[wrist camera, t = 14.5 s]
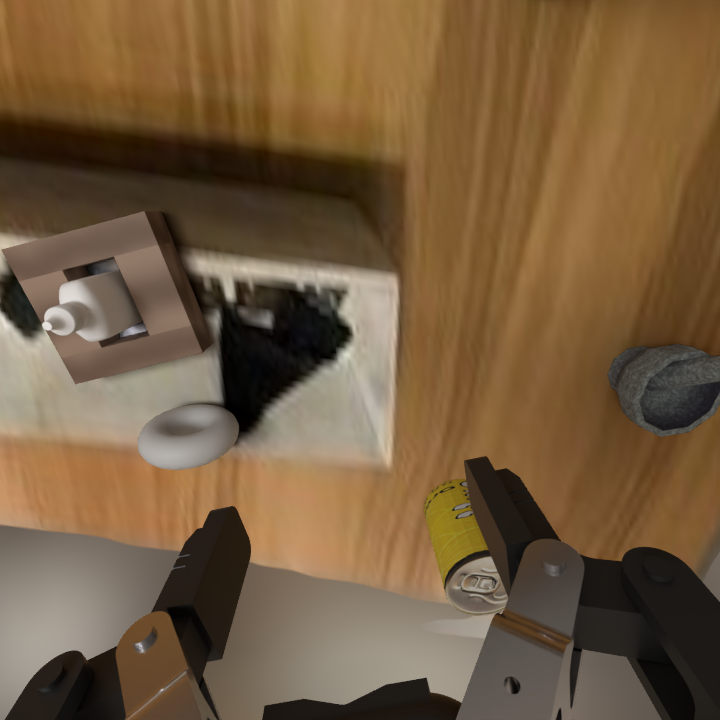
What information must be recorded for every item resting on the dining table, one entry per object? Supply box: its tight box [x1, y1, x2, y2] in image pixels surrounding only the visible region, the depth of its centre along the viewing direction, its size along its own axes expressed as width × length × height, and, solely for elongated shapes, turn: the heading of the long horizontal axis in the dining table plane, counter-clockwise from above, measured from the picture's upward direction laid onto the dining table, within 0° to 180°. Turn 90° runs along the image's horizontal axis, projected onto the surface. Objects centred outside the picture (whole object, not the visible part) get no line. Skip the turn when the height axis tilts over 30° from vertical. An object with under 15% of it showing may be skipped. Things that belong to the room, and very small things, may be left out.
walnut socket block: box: [2, 211, 213, 384], centre depth 40 cm, size 14×14×4 cm
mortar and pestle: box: [608, 344, 720, 437], centre depth 41 cm, size 11×9×12 cm
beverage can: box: [424, 479, 508, 616], centre depth 47 cm, size 9×9×12 cm
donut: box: [138, 404, 239, 470], centre depth 42 cm, size 10×4×10 cm, turn 89°
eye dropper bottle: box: [42, 270, 143, 342], centre depth 36 cm, size 4×6×12 cm
